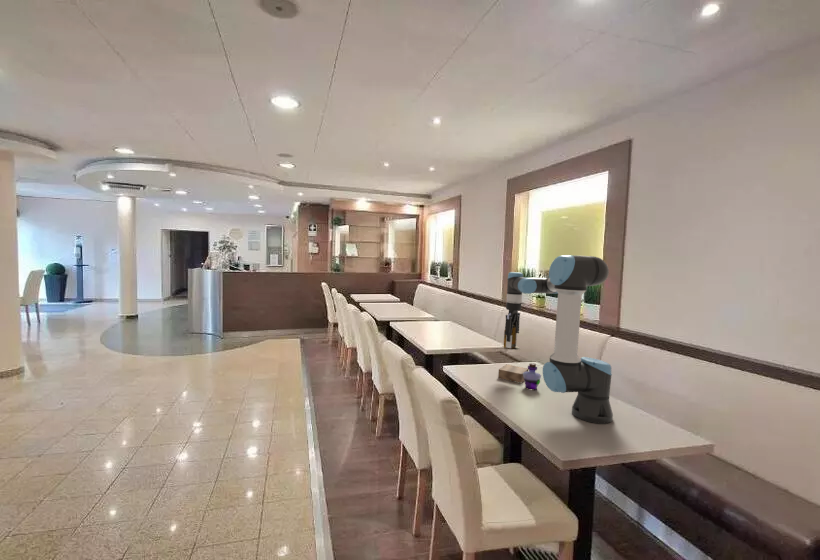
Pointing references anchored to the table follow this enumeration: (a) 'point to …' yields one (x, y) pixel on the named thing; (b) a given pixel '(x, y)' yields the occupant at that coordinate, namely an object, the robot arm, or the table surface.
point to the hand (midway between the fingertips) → (511, 346)
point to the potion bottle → (531, 377)
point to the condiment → (512, 339)
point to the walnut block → (512, 373)
